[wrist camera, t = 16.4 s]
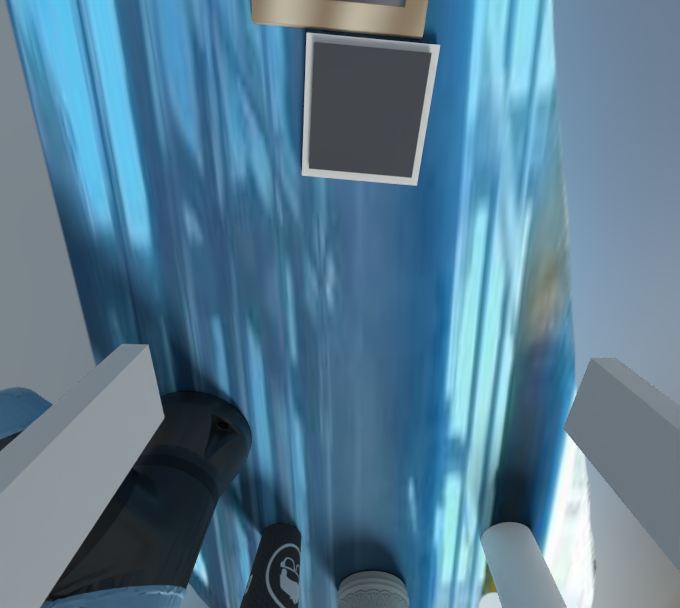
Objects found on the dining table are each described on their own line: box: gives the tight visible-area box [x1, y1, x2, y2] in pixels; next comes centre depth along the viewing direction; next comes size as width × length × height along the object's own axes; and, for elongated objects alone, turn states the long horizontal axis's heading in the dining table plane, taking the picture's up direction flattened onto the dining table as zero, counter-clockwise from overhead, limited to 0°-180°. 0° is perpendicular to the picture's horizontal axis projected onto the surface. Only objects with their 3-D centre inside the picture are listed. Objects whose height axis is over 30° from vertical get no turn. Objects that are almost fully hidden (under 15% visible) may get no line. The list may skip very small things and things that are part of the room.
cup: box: [481, 522, 567, 608], centre depth 49 cm, size 8×8×16 cm
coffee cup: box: [240, 524, 301, 608], centre depth 51 cm, size 10×10×15 cm
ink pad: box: [302, 33, 440, 186], centre depth 31 cm, size 11×11×2 cm
